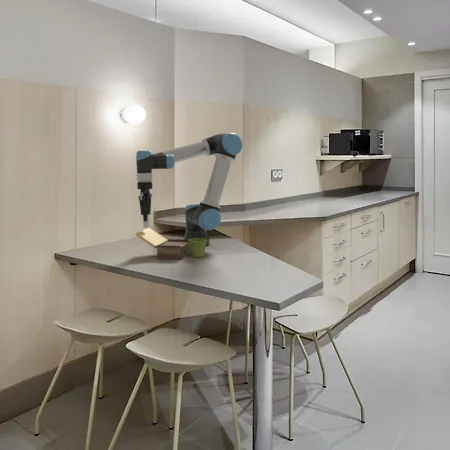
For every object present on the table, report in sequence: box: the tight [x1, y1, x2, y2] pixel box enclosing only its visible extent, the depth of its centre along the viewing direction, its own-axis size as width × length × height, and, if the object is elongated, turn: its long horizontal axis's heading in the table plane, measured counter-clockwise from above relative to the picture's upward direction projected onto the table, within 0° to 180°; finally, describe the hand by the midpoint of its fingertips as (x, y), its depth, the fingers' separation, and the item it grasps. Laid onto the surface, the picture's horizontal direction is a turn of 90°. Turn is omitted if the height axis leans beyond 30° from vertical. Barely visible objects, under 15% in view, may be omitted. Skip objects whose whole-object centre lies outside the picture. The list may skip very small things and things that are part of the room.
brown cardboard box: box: [156, 238, 192, 261], centre depth 254 cm, size 18×12×7 cm, turn 168°
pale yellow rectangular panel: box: [134, 227, 168, 249], centre depth 256 cm, size 19×1×12 cm
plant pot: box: [189, 238, 207, 258], centre depth 252 cm, size 9×9×9 cm
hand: (146, 227), depth 256 cm, fingers closed
